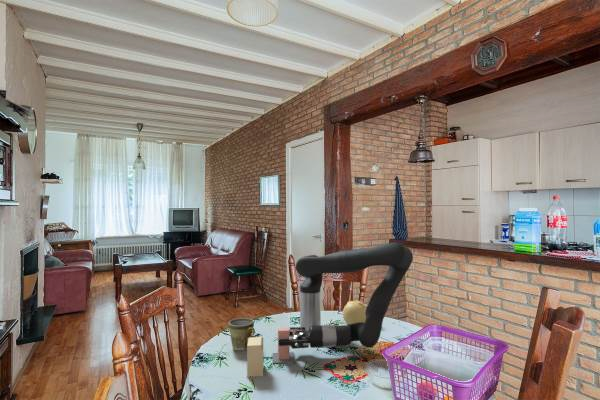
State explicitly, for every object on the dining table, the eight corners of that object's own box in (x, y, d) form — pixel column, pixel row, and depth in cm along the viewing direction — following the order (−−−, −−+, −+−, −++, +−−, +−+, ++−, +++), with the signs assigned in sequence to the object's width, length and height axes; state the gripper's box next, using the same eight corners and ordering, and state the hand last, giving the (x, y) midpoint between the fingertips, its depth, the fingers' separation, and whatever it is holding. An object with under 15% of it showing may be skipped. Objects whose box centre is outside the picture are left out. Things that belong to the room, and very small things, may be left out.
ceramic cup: (223, 347, 131) (223, 322, 131) (243, 340, 138) (243, 316, 139) (243, 357, 122) (243, 329, 123) (264, 349, 130) (264, 323, 130)
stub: (288, 355, 123) (288, 327, 123) (289, 358, 120) (289, 330, 120) (278, 355, 123) (277, 328, 123) (278, 359, 120) (278, 330, 120)
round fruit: (372, 323, 159) (372, 300, 160) (359, 330, 150) (359, 305, 151) (352, 318, 167) (351, 296, 167) (338, 324, 158) (338, 301, 158)
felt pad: (272, 354, 125) (272, 353, 125) (293, 353, 126) (293, 352, 126) (272, 363, 117) (272, 362, 117) (295, 362, 118) (295, 361, 118)
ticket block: (265, 366, 115) (265, 336, 115) (265, 376, 108) (265, 344, 108) (248, 367, 114) (248, 337, 115) (247, 377, 107) (247, 345, 108)
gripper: (319, 319, 130) (277, 321, 129) (325, 332, 116) (278, 334, 114) (319, 339, 130) (278, 340, 128) (325, 354, 116) (278, 356, 114)
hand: (278, 337), depth 121 cm, fingers open, 8 cm apart
